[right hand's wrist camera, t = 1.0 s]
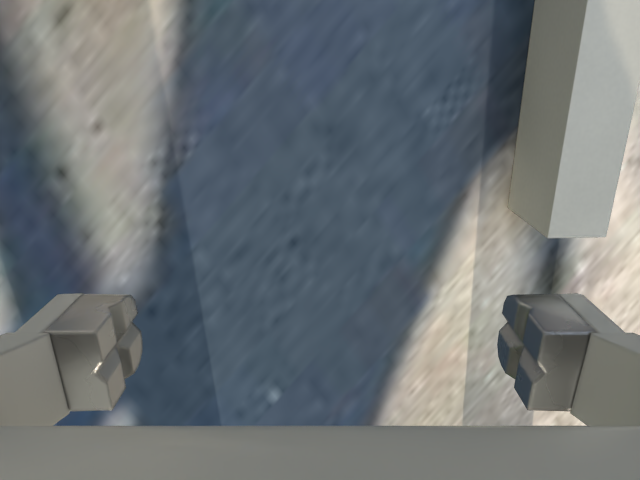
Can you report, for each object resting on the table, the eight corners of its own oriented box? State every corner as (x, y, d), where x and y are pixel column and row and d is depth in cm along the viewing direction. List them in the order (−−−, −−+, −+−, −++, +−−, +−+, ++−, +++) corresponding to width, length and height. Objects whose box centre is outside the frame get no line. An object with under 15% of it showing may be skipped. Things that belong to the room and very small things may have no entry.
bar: (546, -86, 40) (609, -128, 31) (606, -88, 40) (686, -130, 31) (507, 207, 49) (547, 238, 41) (555, 206, 49) (606, 237, 41)
